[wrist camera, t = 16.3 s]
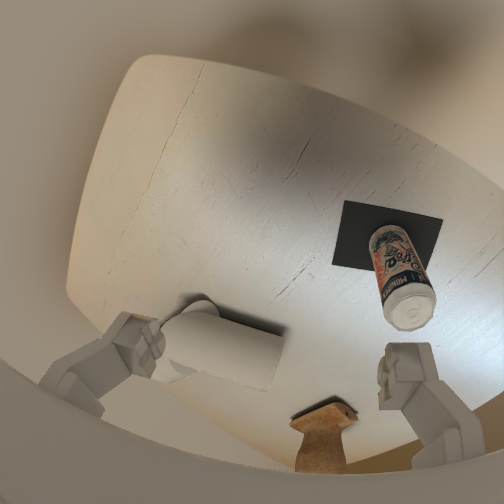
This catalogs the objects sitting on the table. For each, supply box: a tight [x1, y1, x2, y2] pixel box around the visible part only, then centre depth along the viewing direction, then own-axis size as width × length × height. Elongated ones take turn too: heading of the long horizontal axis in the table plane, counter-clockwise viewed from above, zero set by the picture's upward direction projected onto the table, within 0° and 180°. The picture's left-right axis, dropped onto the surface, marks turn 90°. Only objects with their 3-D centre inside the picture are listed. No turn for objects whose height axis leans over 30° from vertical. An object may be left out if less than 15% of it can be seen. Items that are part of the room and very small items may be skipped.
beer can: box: [369, 225, 436, 332], centre depth 25 cm, size 5×5×12 cm
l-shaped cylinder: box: [151, 300, 284, 392], centre depth 40 cm, size 18×10×20 cm
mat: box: [332, 201, 443, 271], centre depth 30 cm, size 12×8×1 cm, turn 88°
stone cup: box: [289, 402, 358, 474], centre depth 45 cm, size 15×12×15 cm
